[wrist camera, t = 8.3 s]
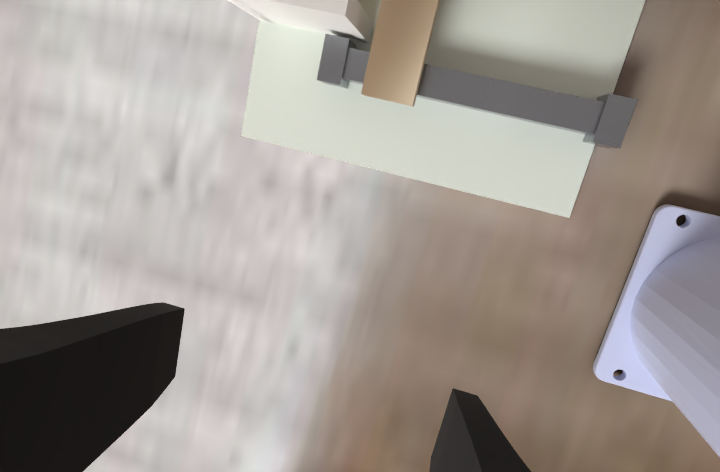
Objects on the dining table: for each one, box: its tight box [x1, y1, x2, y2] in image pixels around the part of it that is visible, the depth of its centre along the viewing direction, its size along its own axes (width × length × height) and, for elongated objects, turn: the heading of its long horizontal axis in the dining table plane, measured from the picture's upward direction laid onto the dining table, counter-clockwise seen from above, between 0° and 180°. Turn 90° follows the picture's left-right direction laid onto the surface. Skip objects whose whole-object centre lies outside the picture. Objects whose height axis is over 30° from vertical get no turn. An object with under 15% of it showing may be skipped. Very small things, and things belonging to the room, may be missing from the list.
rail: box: [317, 34, 638, 148], centre depth 18 cm, size 12×2×2 cm, turn 77°
